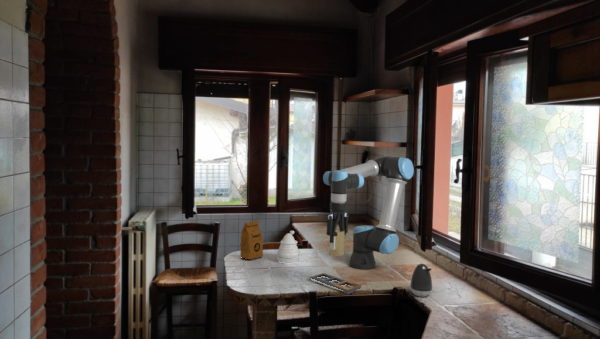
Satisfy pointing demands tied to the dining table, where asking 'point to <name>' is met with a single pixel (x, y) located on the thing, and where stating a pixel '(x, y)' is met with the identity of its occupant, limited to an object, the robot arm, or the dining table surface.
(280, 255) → the honey pot
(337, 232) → the brass peg
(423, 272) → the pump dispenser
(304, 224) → the dining table surface
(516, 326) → the dining table surface
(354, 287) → the rail
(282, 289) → the dining table surface
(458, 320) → the dining table surface
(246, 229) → the coffee package
